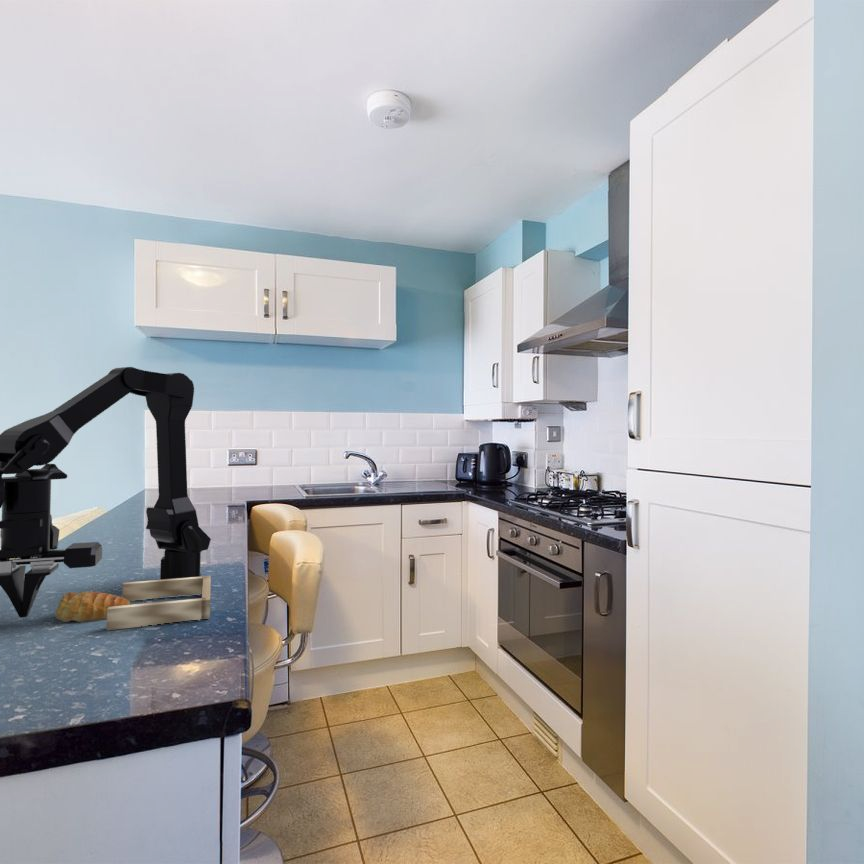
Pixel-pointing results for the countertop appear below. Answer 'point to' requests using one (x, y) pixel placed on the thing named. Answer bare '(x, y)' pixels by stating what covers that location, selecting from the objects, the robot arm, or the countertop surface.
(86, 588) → the countertop surface
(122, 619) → the beige piece
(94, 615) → the pastry
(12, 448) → the robot arm
